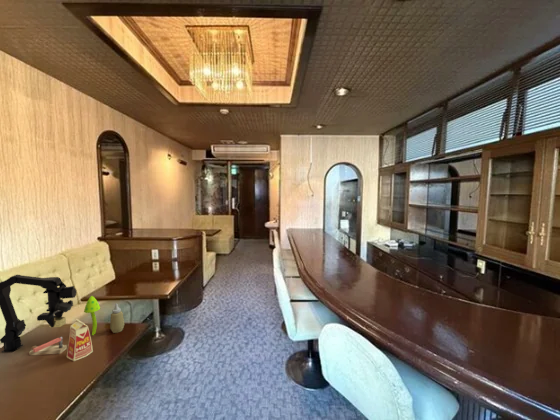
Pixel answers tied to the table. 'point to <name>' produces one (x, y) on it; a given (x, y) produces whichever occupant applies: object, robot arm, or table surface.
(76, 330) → the milk carton
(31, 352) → the plane body
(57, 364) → the table surface
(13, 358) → the table surface
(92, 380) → the table surface
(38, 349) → the lever
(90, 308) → the mushroom
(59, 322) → the tan rectangular block
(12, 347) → the robot arm
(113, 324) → the squeeze bottle
